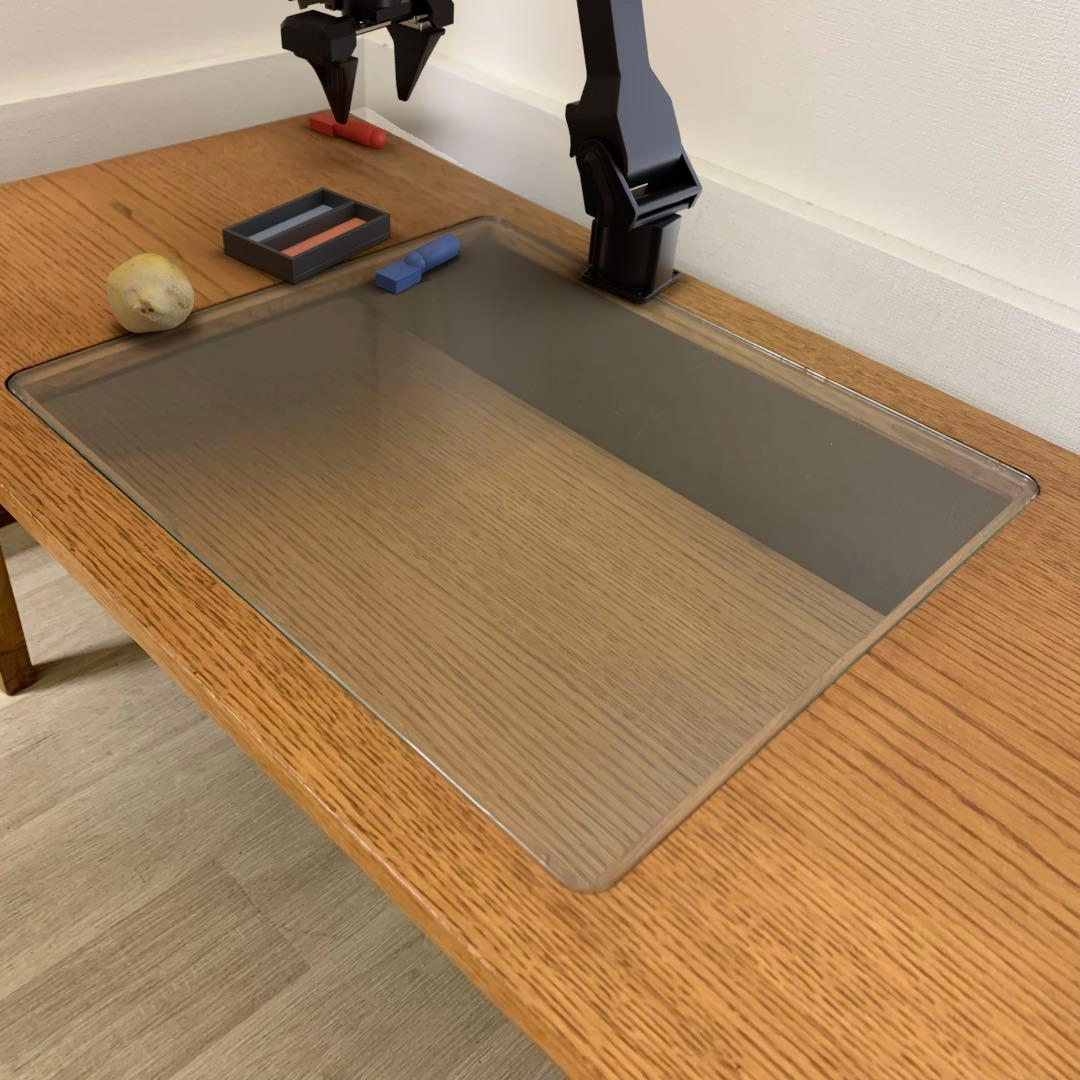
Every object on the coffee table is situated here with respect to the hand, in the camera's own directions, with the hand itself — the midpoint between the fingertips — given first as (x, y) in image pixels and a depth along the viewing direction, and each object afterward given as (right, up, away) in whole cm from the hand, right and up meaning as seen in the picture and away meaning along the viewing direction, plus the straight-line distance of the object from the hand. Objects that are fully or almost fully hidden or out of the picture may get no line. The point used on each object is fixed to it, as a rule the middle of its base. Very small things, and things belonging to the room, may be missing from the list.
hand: (372, 111), depth 113 cm
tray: (-3, -17, -15) cm, 23 cm away
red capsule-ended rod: (-3, -1, +4) cm, 5 cm away
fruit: (-13, -26, -26) cm, 39 cm away
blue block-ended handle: (+7, -20, -17) cm, 27 cm away
